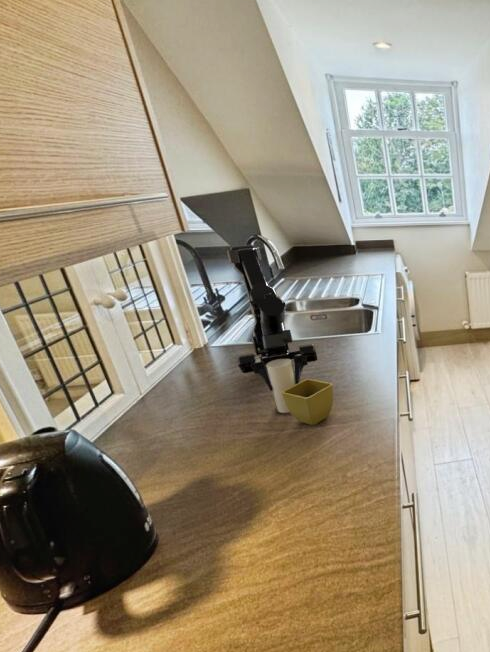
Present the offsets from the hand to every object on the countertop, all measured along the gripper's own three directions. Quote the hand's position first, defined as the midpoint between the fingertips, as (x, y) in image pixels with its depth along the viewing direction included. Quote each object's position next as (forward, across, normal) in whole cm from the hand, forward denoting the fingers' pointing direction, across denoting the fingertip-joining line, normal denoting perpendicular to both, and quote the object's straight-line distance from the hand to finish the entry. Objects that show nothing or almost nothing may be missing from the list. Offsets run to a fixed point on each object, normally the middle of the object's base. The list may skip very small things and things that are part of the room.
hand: (284, 387), depth 118 cm
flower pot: (+11, +6, -1) cm, 12 cm away
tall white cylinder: (+4, 0, +6) cm, 7 cm away
